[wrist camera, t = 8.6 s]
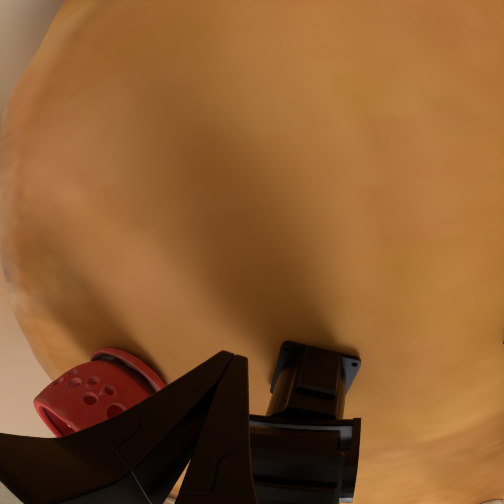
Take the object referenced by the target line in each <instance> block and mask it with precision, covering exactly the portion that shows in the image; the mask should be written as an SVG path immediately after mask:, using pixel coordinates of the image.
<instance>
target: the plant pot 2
mask: <svg viewBox="0 0 504 504" xmlns="http://www.w3.org/2000/svg"><path fill="white" fill-rule="evenodd" d="M164 387H166V385H165V384H164V382H163V381H162V380H161V379H160V377H159V376H158V375H157V374H156V373H155V372H154V371H153V370H152V369H151V368H150V367H149V366H147V365H146V364H145V363H144V362H142V361H141V360H139V359H138V358H136V357H135V356H133V355H131V354H129V353H127V352H125V351H122V350H119V349H114V348H102V349H99V350H97V351H95V352H94V353H93V354H92V356H91V360H90V362H87V363H84V364H81V365H78V366H76V367H74V368H72V369H70V370H69V371H67V372H66V373H64V374H63V375H62V376H60V377H59V378H57V379H56V380H55V381H53V382H52V383H50V384H49V385H48V386H47V387H46V388H45V389H44V390H43V391H42V392H41V393H40V394H39V395H38V396H37V397H36V398H35V399H34V406H35V409H36V411H37V412H38V414H39V416H40V417H41V418H42V420H43V421H44V423H45V424H46V425H47V427H48V428H49V429H50V430H51V431H52V432H53V434H55V436H56V437H62V436H66V435H69V434H72V433H74V432H77V431H80V430H82V429H85V428H87V427H90V426H92V425H95V424H97V423H100V422H102V421H104V420H107V419H109V418H111V417H113V416H116V415H118V414H119V413H121V412H123V411H125V410H127V409H129V408H130V407H132V406H134V405H136V404H137V403H140V402H141V401H142V400H144V399H146V398H148V397H149V396H151V395H152V394H154V393H156V392H157V391H159V390H161V389H162V388H164ZM67 424H68V425H69V426H70V427H71V428H70V427H69V426H68V425H67Z"/></svg>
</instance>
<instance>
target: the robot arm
mask: <svg viewBox="0 0 504 504" xmlns="http://www.w3.org/2000/svg"><path fill="white" fill-rule="evenodd" d="M286 347H289V348H286ZM353 362H356V363H353ZM360 366H361V359H360V358H359V357H356V356H351V355H346V354H342V353H337V352H333V351H328V350H324V349H319V348H315V347H311V346H307V345H302V344H298V343H294V342H290V341H285V342H283V343H282V346H281V349H280V353H279V357H278V361H277V365H276V369H275V373H274V377H273V381H272V385H271V388H270V392H271V393H272V397H271V400H270V403H269V406H268V409H267V412H266V415H265V416H262V415H253V414H249V381H248V358H247V357H244V356H241V355H237V354H236V355H234V354H233V353H231V352H228V351H224V350H222V351H220V352H219V353H217V354H216V355H214V356H213V357H211V358H209V359H208V360H206V361H205V362H203V363H202V364H200V365H199V366H197V367H196V368H194V369H193V370H191V371H189V372H188V373H186V374H185V375H183V376H182V377H180V378H178V379H177V380H175V381H174V382H172V383H170V384H169V385H167V386H166V387H164V388H162V389H161V390H159V391H157V392H156V393H154V394H152V395H151V396H149V397H148V398H146V399H144V400H142V401H141V402H140V403H137V404H136V405H134V406H132V407H130V408H129V409H127V410H125V411H123V412H121V413H119V414H118V415H116V416H113V417H111V418H109V419H107V420H104V421H102V422H100V423H97V424H95V425H92V426H90V427H87V428H85V429H82V430H80V431H77V432H74V433H72V434H69V435H66V436H62V437H56V438H40V437H30V436H20V435H12V434H5V433H0V504H163V503H164V501H165V500H166V498H167V496H168V495H169V493H170V492H171V490H172V489H173V487H174V485H175V484H176V482H177V481H178V479H179V477H180V476H181V474H182V472H183V471H184V469H185V467H186V466H187V464H188V463H189V461H190V463H189V466H188V469H187V471H186V474H185V477H184V479H183V482H182V485H181V488H180V490H179V494H178V496H177V498H176V501H175V503H174V504H340V502H343V503H352V501H353V495H354V490H355V483H356V476H357V468H358V458H359V446H360V431H361V418H353V419H343V414H344V404H345V395H346V393H347V391H348V389H349V388H350V386H351V384H352V382H353V380H354V378H355V376H356V374H357V372H358V370H359V368H360ZM190 459H191V460H190Z"/></svg>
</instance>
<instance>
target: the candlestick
mask: <svg viewBox="0 0 504 504" xmlns="http://www.w3.org/2000/svg"><path fill="white" fill-rule="evenodd" d="M502 503H503V502H502V500H500V499H499V500H492V501H489V502H485V503H482V504H502Z"/></svg>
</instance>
